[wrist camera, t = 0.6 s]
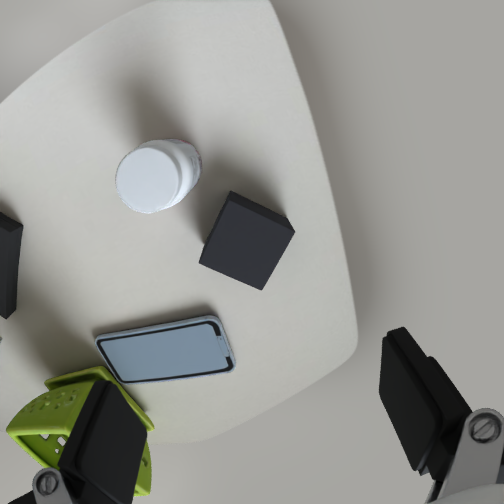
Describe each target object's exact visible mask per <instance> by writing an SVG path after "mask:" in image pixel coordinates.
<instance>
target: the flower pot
mask: <svg viewBox="0 0 504 504" xmlns="http://www.w3.org/2000/svg"><path fill="white" fill-rule="evenodd" d="M101 380H110V381H112V382H113V384H116V385H117V386H118V388H119V390H120V391H121V393H122V394H123V396H124V397H125V399H126V400H127V402H128V403H129V405H130V406H131V408H132V409H133V411H134V412H135V413H136V415H137V416H138V418H139V419H140V420H141V422H142V423H143V425H144V426H145V427H146V430H147V432H148V431H152V430H154V425H153V423H152V421H151V420H150V419H149V417H148V416H147V415H146V414H145V413H144V412H143V410H142V409H141V408H140V407H139V406H138V405H137V404H136V403H135V402H134V401H133V399H132V398H131V397H130V396H129V395H128V394H127V393H126V392H125V390H124V389H123V388H122V387H121V386H120V385H119V383H118V382H117V381H116V380H115V379H114V377H113V376H112V375H111V374H110V373H109V371H108V370H107V369H106V368H105V367H103V366H97V367H92V368H88V369H85V370H81V371H77V372H73V373H69V374H65V375H62V376H58V377H54V378H51V379H48V380H46V381H45V382H44V384H45V386H46V387H47V388H48V389H49V392H46V393H44V394H42V395H40V396H38V397H37V398H35V399H34V400H32V401H31V402H30V403H28V404H27V405H26V406H25V407H23V408H22V409H21V410H20V411H19V412H18V413H17V415H16V416H15V417H14V418H13V419H12V421H11V422H10V423H9V425H8V426H7V428H6V431H7V433H8V435H9V436H10V437H11V438H12V439H13V440H14V441H15V442H16V443H17V444H18V445H19V446H20V447H21V448H22V449H23V450H24V451H26V452H27V453H28V454H29V455H30V456H31V457H32V458H33V459H35V460H36V461H37V462H38V463H39V464H40V465H42V466H43V467H44V468H47V467H52V468H55V469H57V470H58V471H59V469H60V468H59V467H58V466H57V464H58V461H59V459H60V456H61V454H62V451H63V449H64V447H65V445H64V446H62V445H61V444H60V443H59V442H58V441H57V440H58V438H59V437H62V438H63V439H64V440H65V441H66V442H67V440H68V437H69V435H70V433H71V431H72V428H73V426H74V424H75V422H76V419H77V417H78V415H79V413H80V411H81V409H82V406H83V404H84V402H85V400H86V398H87V396H88V394H89V392H90V390H91V388H92V386H93V384H94V382H95V381H101ZM40 434H49V436H48V438H47V439H44V438H43V437H42V436H41V435H40ZM65 444H66V443H65ZM55 449H59V451H58V453H56V452H55ZM150 489H151V458H150V452H149V447H148V443H147V439H146V443H145V447H144V451H143V455H142V460H141V464H140V468H139V473H138V477H137V482H136V486H135V491H134V496H146V495H149V494H150Z"/></svg>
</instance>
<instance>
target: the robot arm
mask: <svg viewBox="0 0 504 504" xmlns="http://www.w3.org/2000/svg"><path fill="white" fill-rule="evenodd" d="M379 395H380V398H381V400H382V403H383V405H384V407H385V409H386V411H387V413H388V415H389V418H390V420H391V422H392V424H393V426H394V429H395V431H396V433H397V435H398V438H399V440H400V442H401V444H402V447H403V449H404V451H405V454H406V456H407V458H408V461H409V463H410V465H411V467H412V469H413V470H414V471H416V470H418V471H419V474H420V476H422V475H424V474H426V473H430V475H431V477H432V479H433V480H434V482H433V485H432V487H431V490H430V492H429V494H428V497H427V499H426V502H425V504H504V418H503V416H502V415H501V414H500V413H499V412H497V411H496V410H494V409H490V408H482V409H479V410H476V411H474V412H472V410H471V409H470V407H469V406H468V404H467V403H466V402H465V400H464V398H463V397H462V396H461V394H460V393H459V391H458V390H457V388H456V387H455V385H454V384H453V383H452V381H451V380H450V379H449V377H448V376H447V374H446V373H445V372H444V370H443V369H442V367H441V366H440V365H439V363H438V362H437V361H436V360H435V359H434V358H433V357H431V356H429V357H427V356H426V355H425V353H424V352H423V351H422V349H421V348H420V347H419V345H418V344H417V343H416V341H415V340H414V339H413V337H412V336H411V335H410V333H409V332H408V331H407V329H406V328H405V327H401V328H398V329H394V330H391V331H388V332H387V336H386V337H384V338H383V340H382V357H381V371H380V384H379ZM146 439H147V430H146V427H145V426H144V425H143V423H142V422H141V420H140V419H139V418H138V416H137V415H136V413H135V412H134V411H133V409H132V408H131V406H130V405H129V403H128V402H127V400H126V399H125V397H124V396H123V394H122V393H121V391H120V390H119V388H118V386H117V385H116V384H113V382H112V381H110V380H101V381H95V382H94V384H93V386H92V388H91V390H90V392H89V394H88V396H87V398H86V400H85V402H84V404H83V406H82V409H81V411H80V413H79V415H78V417H77V419H76V422H75V424H74V426H73V428H72V431H71V433H70V435H69V437H68V440H67V442H66V444H65V447H64V449H63V451H62V454H61V456H60V459H59V461H58V464H57V466H58V467H59V468H60V469H59V471H58V470H57V469H55V468H52V467H47V468H44V469H42V470H40V471H39V472H38V473H37V474H36V475H35V477H34V479H33V483H32V486H33V490H32V491H30V492H29V493H27V494H25V495H23V496H21V497H19V498H17V499H15V500H13V501H11V502H9V503H8V504H132V500H133V496H134V491H135V486H136V482H137V477H138V473H139V468H140V464H141V460H142V455H143V451H144V447H145V443H146Z"/></svg>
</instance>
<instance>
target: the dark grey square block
mask: <svg viewBox="0 0 504 504" xmlns="http://www.w3.org/2000/svg"><path fill="white" fill-rule="evenodd" d="M294 233H295V230H294V229H293V227H292V225H291V224H290V222H289V220H288V218H286V217H284V216H282V215H280V214H278V213H276V212H274V211H272V210H270V209H268V208H266V207H264V206H262V205H260V204H257V203H255V202H253V201H251V200H249V199H247V198H245V197H243V196H241V195H239V194H237V193H234V192H232V191H230V193H229V195H228V197H227V199H226V201H225V203H224V205H223V207H222V209H221V211H220V213H219V215H218V217H217V219H216V222H215V224H214V226H213V228H212V230H211V232H210V234H209V236H208V238H207V241H206V243H205V245H204V248H203V251H202V254H201V257H200V260H199V264H202V265H204V266H206V267H208V268H211V269H213V270H215V271H217V272H220V273H222V274H224V275H227V276H229V277H231V278H233V279H236V280H238V281H240V282H243V283H245V284H247V285H250V286H252V287H254V288H257V289H259V290H263V288H264V286H265V284H266V283H267V281H268V279H269V277H270V276H271V274H272V272H273V270H274V269H275V267H276V265H277V263H278V262H279V260H280V258H281V256H282V255H283V253H284V251H285V249H286V247H287V246H288V244H289V242H290V240H291V239H292V237H293V235H294Z"/></svg>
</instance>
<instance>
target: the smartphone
mask: <svg viewBox="0 0 504 504" xmlns="http://www.w3.org/2000/svg"><path fill="white" fill-rule="evenodd" d="M95 345H96V347H97V349H98V350H99V352H100V354H101V355H102V357H103V359H104V360H105V362H106V363H107V365H108V367H109V368H110V370H111V371H112V373H113V374H114V376H115V378H116V379H117V380H118V381H119V382H120V383H122V384H125V385H130V384H143V383H154V382H164V381H173V380H181V379H189V378H196V377H204V376H210V375H217V374H223V373H229V372H232V371H233V370H234V369H235V366H236V361H235V358H234V356H233V353H232V351H231V348H230V345H229V343H228V340H227V338H226V335H225V332H224V330H223V327H222V324H221V322H220V320H219V319H218V318H217V317H215V316H212V315H207V316H202V317H197V318H192V319H187V320H182V321H177V322H171V323H166V324H161V325H155V326H150V327H144V328H138V329H132V330H126V331H120V332H114V333H108V334H101V335H99V336H98V337H97V338H96V340H95Z"/></svg>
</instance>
